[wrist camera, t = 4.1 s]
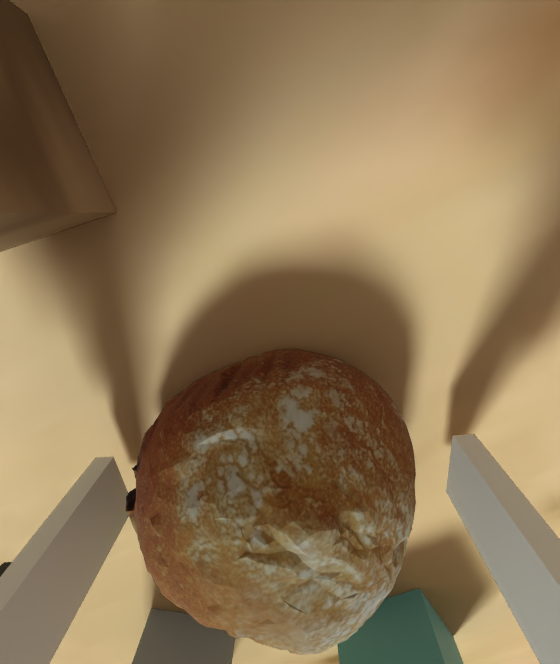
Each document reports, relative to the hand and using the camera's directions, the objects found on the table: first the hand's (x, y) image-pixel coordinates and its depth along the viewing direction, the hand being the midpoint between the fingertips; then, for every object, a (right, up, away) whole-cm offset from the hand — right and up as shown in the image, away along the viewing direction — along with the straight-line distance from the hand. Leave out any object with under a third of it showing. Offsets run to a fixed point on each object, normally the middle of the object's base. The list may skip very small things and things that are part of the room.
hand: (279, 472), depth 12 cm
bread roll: (0, 0, +1) cm, 2 cm away
